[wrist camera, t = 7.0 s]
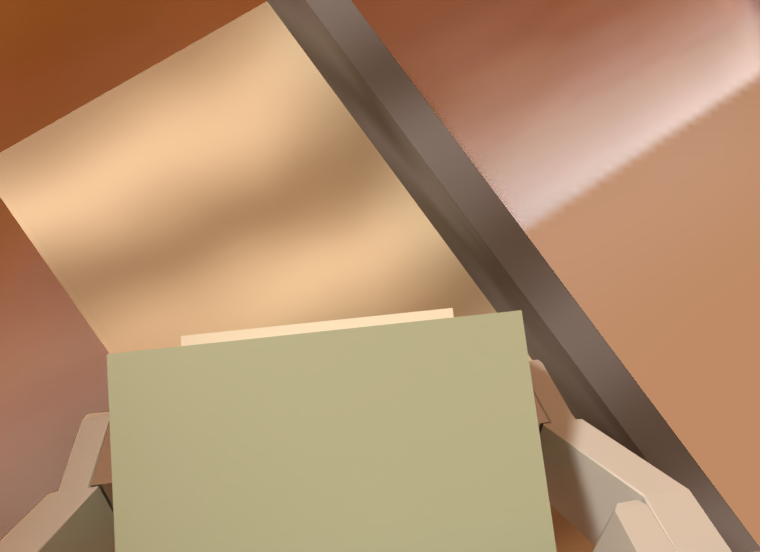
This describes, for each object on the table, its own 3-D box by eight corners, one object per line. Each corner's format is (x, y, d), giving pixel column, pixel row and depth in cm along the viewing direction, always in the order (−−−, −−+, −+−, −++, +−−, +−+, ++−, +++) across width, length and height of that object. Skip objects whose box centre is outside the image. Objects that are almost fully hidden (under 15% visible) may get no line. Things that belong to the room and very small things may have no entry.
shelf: (4, 180, 19) (-91, 126, 14) (308, 4, 21) (307, -88, 17) (406, 756, 18) (438, 889, 13) (677, 501, 20) (779, 542, 16)
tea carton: (420, 455, 17) (561, 587, 8) (232, 482, 17) (120, 669, 7) (405, 326, 18) (519, 294, 8) (222, 346, 17) (106, 337, 7)
